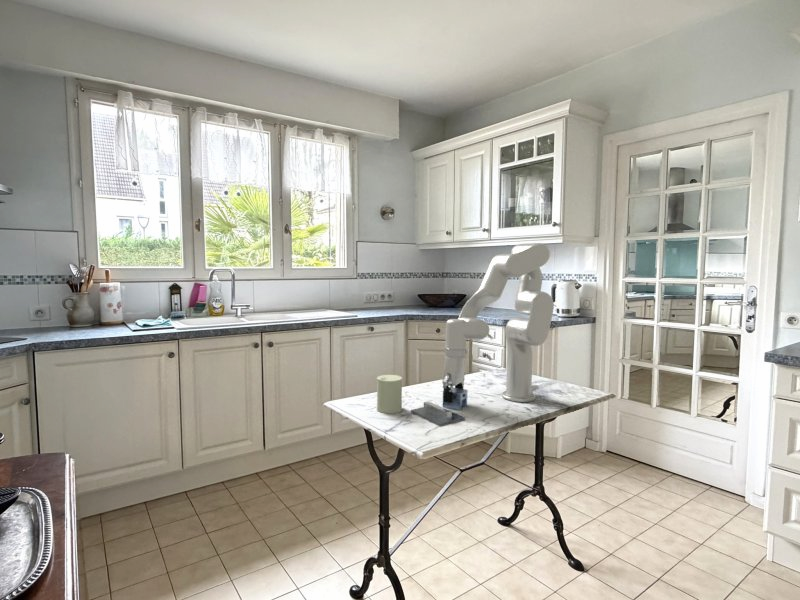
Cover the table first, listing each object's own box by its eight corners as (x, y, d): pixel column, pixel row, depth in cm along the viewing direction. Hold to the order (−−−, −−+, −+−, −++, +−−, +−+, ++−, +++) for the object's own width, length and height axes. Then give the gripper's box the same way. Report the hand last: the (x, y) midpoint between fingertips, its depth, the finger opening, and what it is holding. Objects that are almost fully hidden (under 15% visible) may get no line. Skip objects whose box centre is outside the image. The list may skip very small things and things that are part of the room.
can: (371, 407, 163) (371, 375, 162) (392, 403, 168) (392, 372, 167) (385, 415, 156) (385, 381, 155) (407, 410, 161) (407, 377, 160)
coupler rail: (435, 406, 165) (435, 398, 165) (464, 419, 152) (464, 410, 151) (410, 412, 159) (410, 403, 158) (439, 426, 146) (439, 416, 145)
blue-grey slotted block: (450, 402, 170) (450, 386, 170) (468, 405, 166) (468, 389, 166) (442, 407, 165) (442, 391, 164) (461, 410, 161) (461, 394, 160)
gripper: (455, 348, 173) (453, 392, 174) (435, 355, 158) (433, 402, 160) (473, 350, 169) (472, 395, 171) (455, 358, 154) (453, 406, 156)
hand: (453, 399), depth 165 cm, fingers open, 9 cm apart
